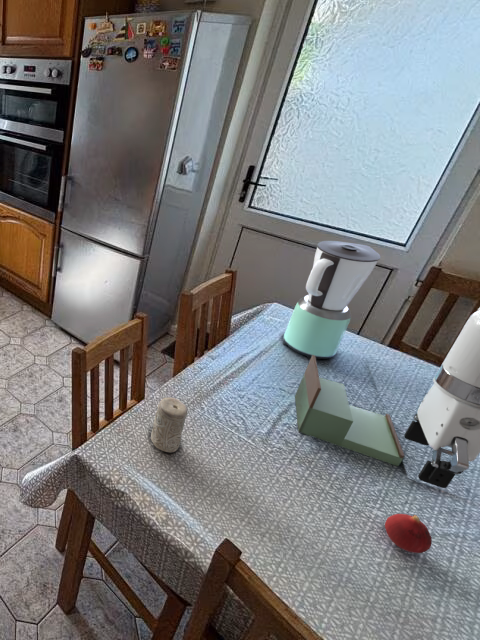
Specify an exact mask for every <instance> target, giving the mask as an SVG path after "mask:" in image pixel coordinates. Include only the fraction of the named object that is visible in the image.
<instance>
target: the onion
mask: <svg viewBox="0 0 480 640" xmlns="http://www.w3.org/2000/svg"><path fill="white" fill-rule="evenodd" d="M384 529H385V532H386V535H387V537H388V538H389V539H390V541H391V542H392V543H393V544H394V545H395V546H397V547H398V548H400V549H401V550H404V551H406V552H408V553H414V554H423V553H425V552H427V551H428V550H430V549H431V547H432V535H431V534H430V531H429V528H428V527H427V526H426V524H424V522H423V521H421V520H420V518H419V516H418V515H416V514H413V515H410V514H406V513H395V514H392V515H389V516H388V517H387V518H386V520H385V522H384Z"/></svg>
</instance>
